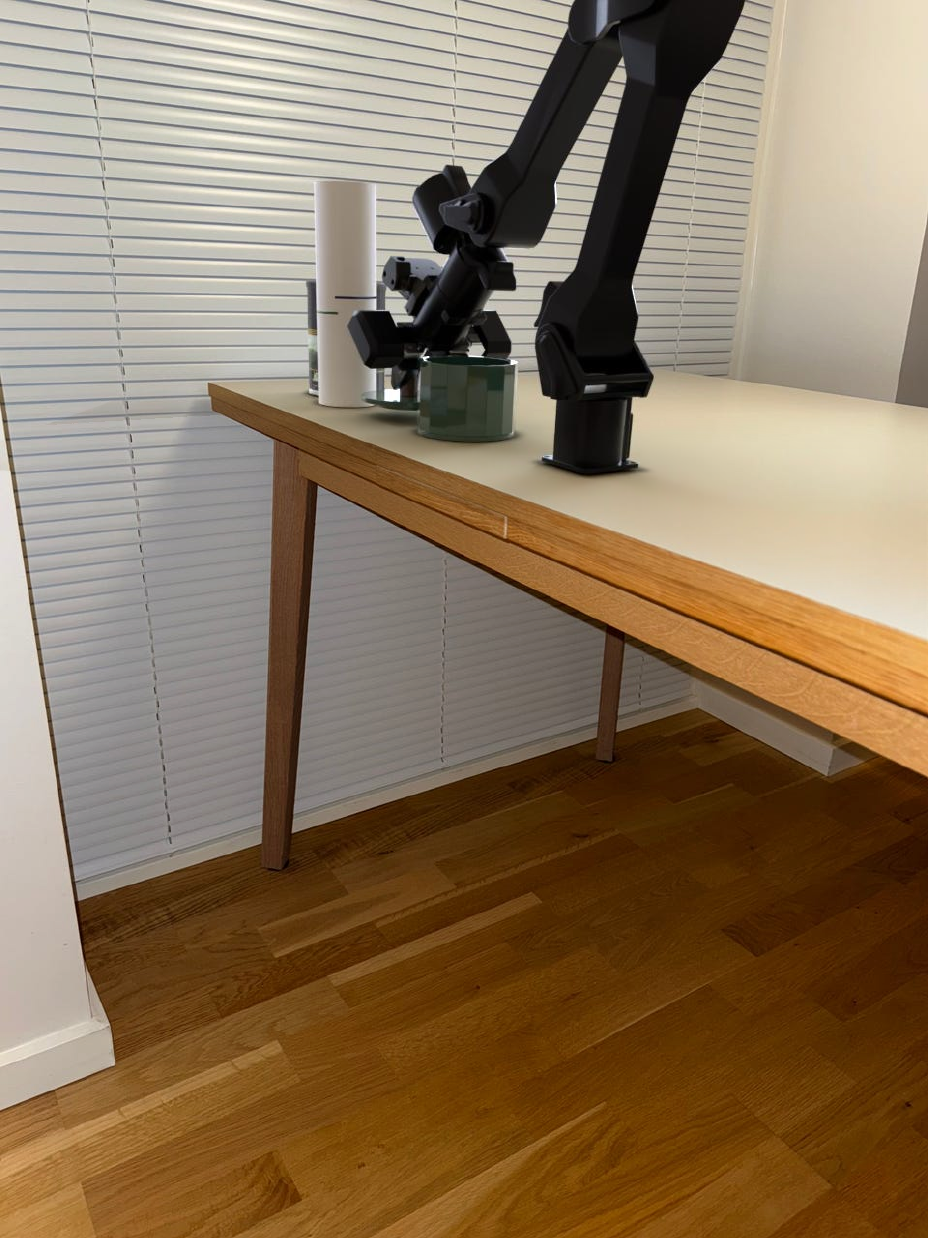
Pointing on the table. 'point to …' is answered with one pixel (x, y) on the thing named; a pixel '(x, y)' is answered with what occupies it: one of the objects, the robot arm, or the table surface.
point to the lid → (395, 397)
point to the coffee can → (313, 335)
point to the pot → (467, 398)
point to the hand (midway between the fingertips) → (403, 386)
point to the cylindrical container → (343, 286)
